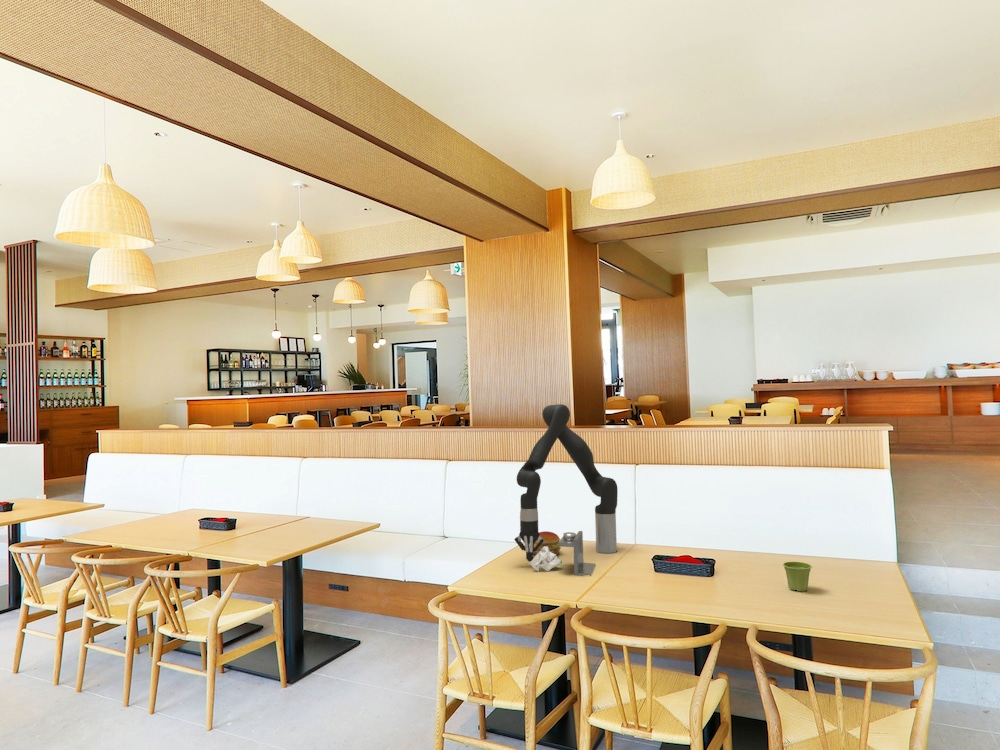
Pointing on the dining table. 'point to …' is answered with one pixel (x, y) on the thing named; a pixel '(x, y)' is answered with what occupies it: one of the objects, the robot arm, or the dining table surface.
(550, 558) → the white irregular lump
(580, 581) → the dining table surface
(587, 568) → the bracket
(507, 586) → the dining table surface
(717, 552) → the dining table surface
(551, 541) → the burger
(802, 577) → the plant pot
